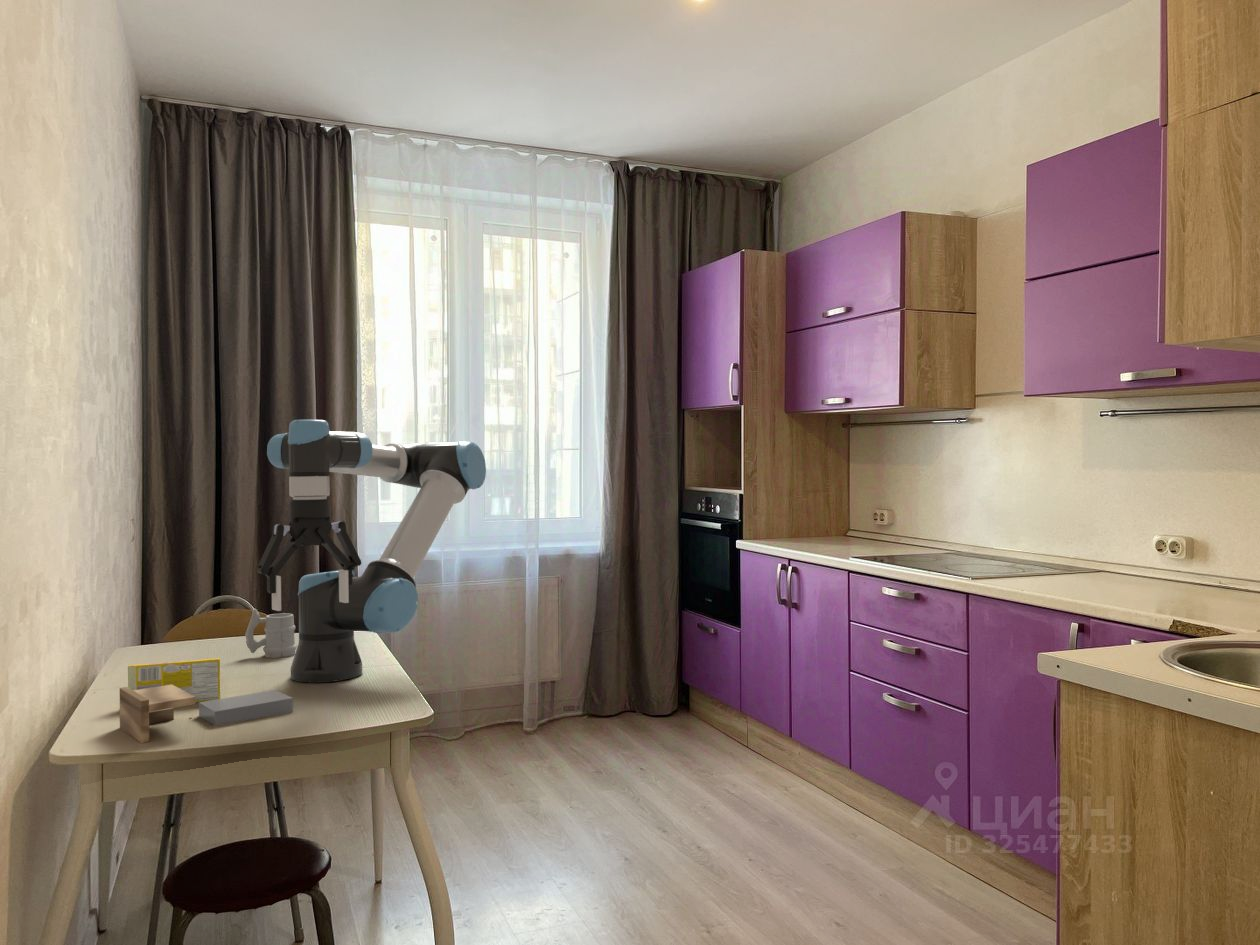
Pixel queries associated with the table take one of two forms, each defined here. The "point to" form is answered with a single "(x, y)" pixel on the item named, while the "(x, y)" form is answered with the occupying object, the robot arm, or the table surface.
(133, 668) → the candy box
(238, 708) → the gray block
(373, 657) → the table surface
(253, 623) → the mug
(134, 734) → the shelf
